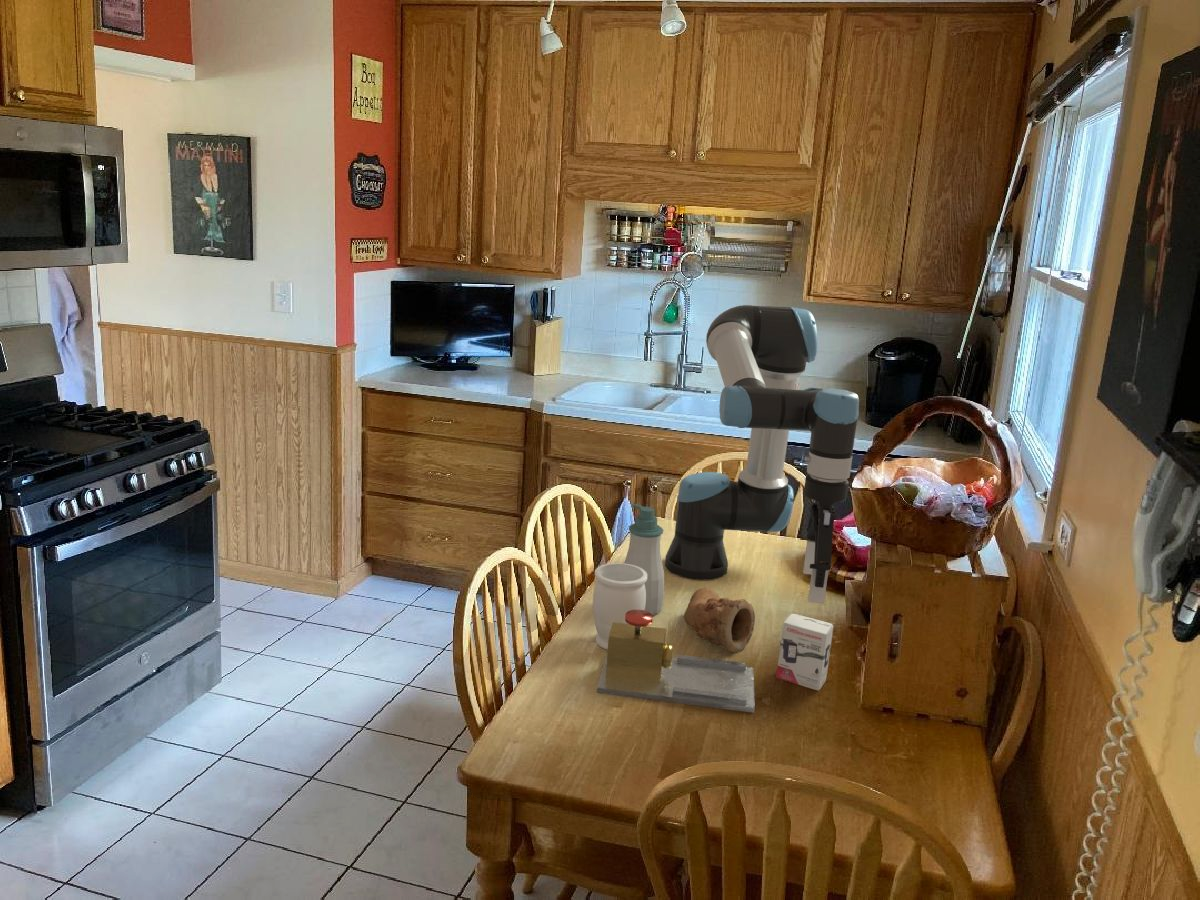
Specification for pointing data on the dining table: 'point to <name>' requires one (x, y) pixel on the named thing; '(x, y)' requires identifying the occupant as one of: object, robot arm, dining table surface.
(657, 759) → the dining table surface
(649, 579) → the soap bottle
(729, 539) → the dining table surface
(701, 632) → the clay pipe
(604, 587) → the jar
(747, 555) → the dining table surface
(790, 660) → the ink box
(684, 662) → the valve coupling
